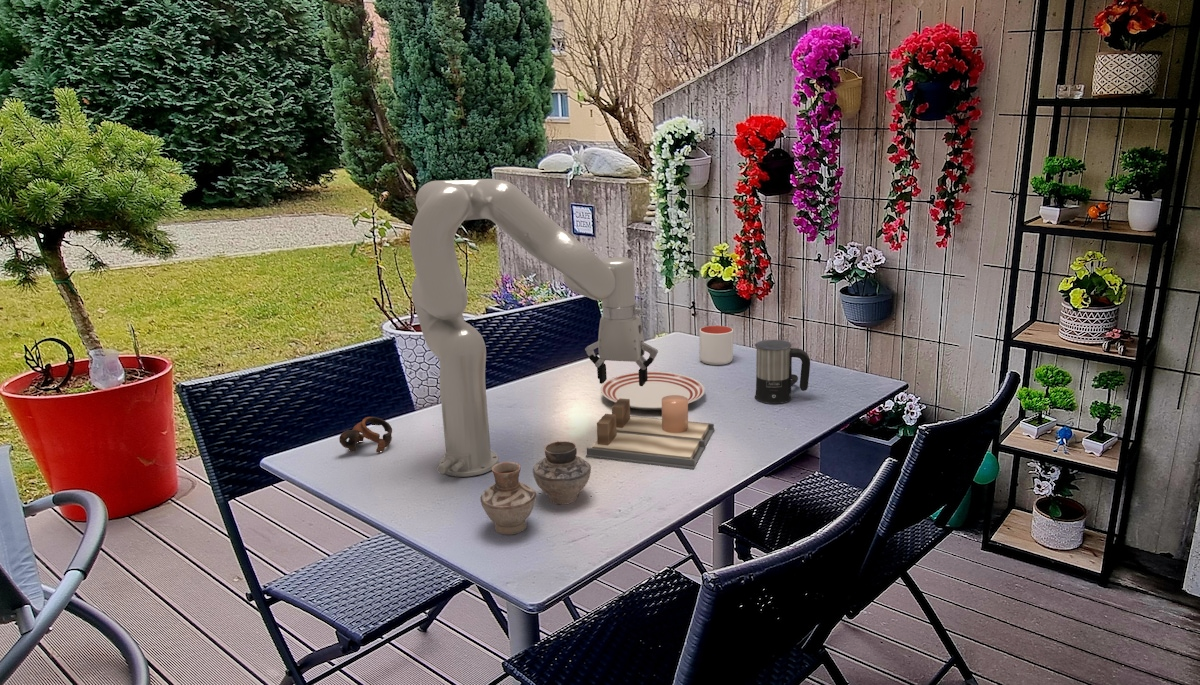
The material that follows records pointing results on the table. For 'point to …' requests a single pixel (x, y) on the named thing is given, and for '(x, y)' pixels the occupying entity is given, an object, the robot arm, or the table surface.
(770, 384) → the milk frother
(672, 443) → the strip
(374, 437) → the brown curved loop
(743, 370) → the table surface
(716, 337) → the cup
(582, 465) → the pottery
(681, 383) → the dinner plate
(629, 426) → the strip
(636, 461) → the lane frame
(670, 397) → the canister
